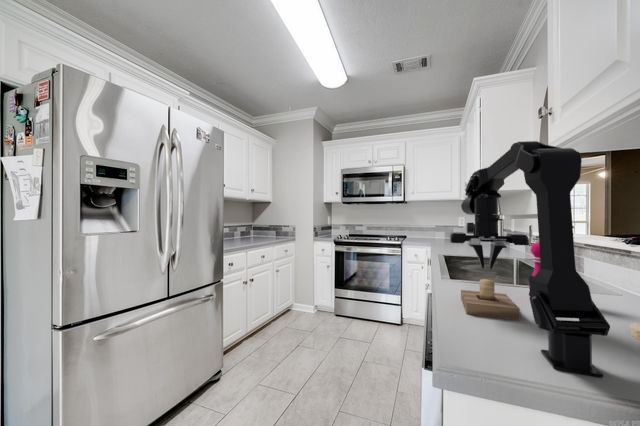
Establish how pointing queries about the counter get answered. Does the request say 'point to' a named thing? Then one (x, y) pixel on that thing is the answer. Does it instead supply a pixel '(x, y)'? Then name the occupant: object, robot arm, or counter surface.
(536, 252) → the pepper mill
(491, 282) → the peg
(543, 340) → the counter surface
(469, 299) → the board
